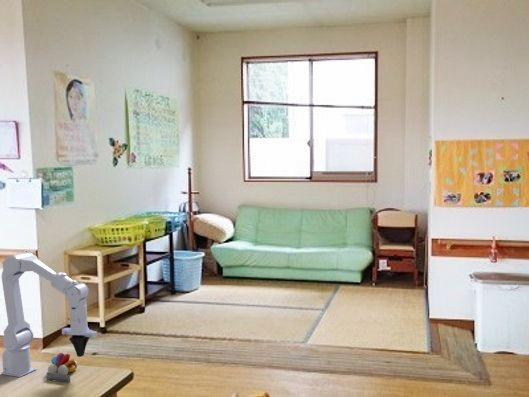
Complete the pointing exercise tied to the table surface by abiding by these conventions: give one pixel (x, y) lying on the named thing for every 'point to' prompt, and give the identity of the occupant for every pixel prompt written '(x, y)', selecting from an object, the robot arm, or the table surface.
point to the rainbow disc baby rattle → (62, 364)
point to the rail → (58, 377)
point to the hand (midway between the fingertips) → (80, 355)
